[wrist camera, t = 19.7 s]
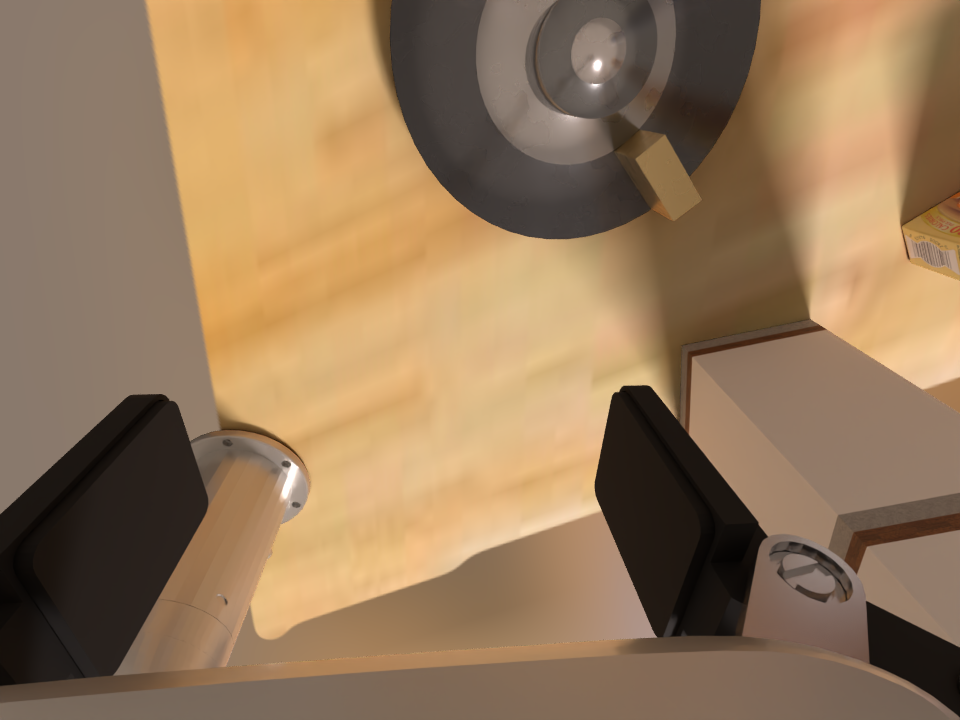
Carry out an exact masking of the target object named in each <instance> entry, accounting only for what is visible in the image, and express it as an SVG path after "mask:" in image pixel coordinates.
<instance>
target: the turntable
mask: <svg viewBox="0 0 960 720" xmlns="http://www.w3.org/2000/svg"><path fill="white" fill-rule="evenodd" d="M556 1H557V0H392V5H391V25H390V46H391V60H392V70H393V76H394V81H395V87H396V92H397V97H398V100H399V103H400V107H401V110H402V113H403V117H404V120H405V123H406V125H407V127H408V130H409V132H410V134H411V137H412V139H413V141H414V144H415V146H416V147H417V149H418V151H419V153H420V154H421V156H422V158H423V159H424V161H425V163H426V165H427V166H428V168H429V169H430V170H431V171H432V173H433V174H434V175H435V177H436V178H437V179H438V181H439V182H440V183H441V185H442V186H443V187H444V188H445V189H446V190H447V191H448V192H449V193H450V194H451V195H452V196H453V197H454V198H455V199H456V200H457V201H458V202H460V203H461V204H462V205H463V206H465V207H466V208H467V209H469V210H470V211H471V212H472V213H474V214H475V215H477V216H479V217H481V218H482V219H484V220H486V221H487V222H489V223H491V224H493V225H495V226H498V227H500V228H502V229H505V230H507V231H510V232H513V233H517V234H521V235H524V236H528V237H536V238H543V239H571V238H579V237H586V236H590V235H594V234H598V233H602V232H605V231H608V230H611V229H613V228H616V227H618V226H621V225H623V224H626V223H628V222H630V221H631V220H633V219H635V218H637V217H639V216H641V215H643V214H644V213H646V212H647V211H649V210H650V209H652V210H654V211H656V212H658V213H659V214H661V215H663V216H665V217H666V218H668V219H670V220H671V221H673V222H674V221H675V220H677V219H678V218H679V217H681V216H682V215H683V214H685V213H686V212H687V211H689V210H690V209H691V208H693V207H694V206H695V205H696V204H698V203H699V202H700V201H702V199H701V197H700V195H699V194H698V192H697V190H696V188H695V186H694V185H693V183H692V181H691V179H690V178H689V176H690V175H691V174H692V173H693V172H694V171H695V170H696V168H697V167H698V166H699V165H700V163H701V162H702V161H703V159H704V158H705V157H706V156H707V154H708V153H709V152H710V150H711V149H712V148H713V146H714V144H715V143H716V141H717V140H718V138H719V136H720V135H721V133H722V131H723V130H724V128H725V127H726V125H727V123H728V121H729V119H730V117H731V115H732V113H733V110H734V108H735V106H736V104H737V102H738V100H739V97H740V95H741V92H742V89H743V87H744V84H745V81H746V79H747V76H748V73H749V69H750V65H751V61H752V57H753V54H754V50H755V45H756V39H757V33H758V26H759V20H760V6H761V0H648V2H649V4H650V6H651V8H652V11H653V14H654V17H655V21H656V26H657V50H656V56H655V61H654V64H653V67H652V70H651V73H650V75H649V77H648V79H647V81H646V83H645V84H644V86H643V88H642V89H641V91H640V92H639V93H638V95H637V96H636V97H635V98H634V99H633V100H632V101H631V102H630V103H629V104H628V105H626V106H625V107H624V108H622V109H621V110H619V111H618V112H616V113H614V114H612V115H609V116H606V117H603V118H597V119H586V118H579V117H574V116H569V115H564V114H560V113H556V112H554V111H552V110H550V109H548V108H547V107H545V106H544V105H543V104H542V103H541V102H540V101H539V100H538V99H537V98H536V96H535V95H534V93H533V91H532V89H531V87H530V85H529V82H528V79H527V75H526V68H525V54H526V47H527V42H528V39H529V36H530V33H531V31H532V29H533V27H534V25H535V23H536V22H537V20H538V18H539V17H540V16H541V15H542V13H543V12H544V11H545V10H546V9H547V8H548V7H550V6H551V5H552V4H553V3H554V2H556Z"/></svg>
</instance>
